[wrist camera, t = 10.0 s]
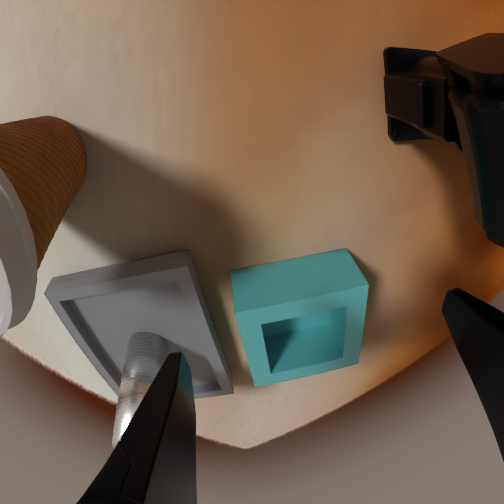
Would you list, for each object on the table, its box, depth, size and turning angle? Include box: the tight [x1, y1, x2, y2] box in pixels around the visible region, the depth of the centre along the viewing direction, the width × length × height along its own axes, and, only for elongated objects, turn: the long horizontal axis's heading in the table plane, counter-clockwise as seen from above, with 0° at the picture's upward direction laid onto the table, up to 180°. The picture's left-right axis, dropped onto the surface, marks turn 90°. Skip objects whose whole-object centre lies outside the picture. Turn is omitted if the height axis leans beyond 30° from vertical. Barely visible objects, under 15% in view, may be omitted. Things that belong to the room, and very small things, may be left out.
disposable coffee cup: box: [0, 116, 87, 337], centre depth 12 cm, size 10×10×12 cm
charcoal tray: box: [44, 250, 234, 399], centre depth 26 cm, size 12×16×2 cm
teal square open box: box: [230, 248, 369, 387], centre depth 25 cm, size 9×9×4 cm
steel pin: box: [112, 332, 169, 448], centre depth 22 cm, size 4×4×10 cm
